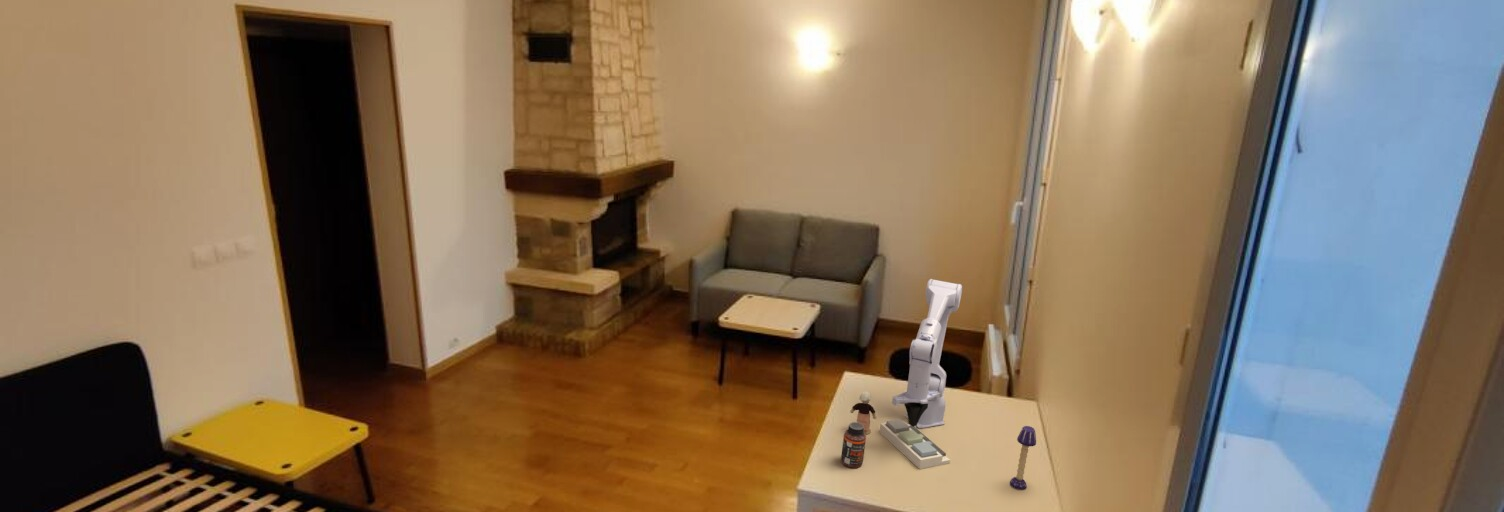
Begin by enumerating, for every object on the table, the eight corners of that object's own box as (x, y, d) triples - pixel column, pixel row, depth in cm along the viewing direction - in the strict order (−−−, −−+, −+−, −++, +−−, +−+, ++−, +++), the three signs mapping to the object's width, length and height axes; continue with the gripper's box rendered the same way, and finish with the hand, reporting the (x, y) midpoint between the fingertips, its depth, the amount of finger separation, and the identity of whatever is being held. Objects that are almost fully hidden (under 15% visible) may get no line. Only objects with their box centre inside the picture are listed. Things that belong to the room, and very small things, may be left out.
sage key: (912, 434, 203) (913, 429, 203) (922, 442, 199) (923, 438, 199) (898, 436, 201) (899, 432, 201) (908, 445, 197) (908, 440, 197)
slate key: (925, 445, 197) (926, 441, 197) (936, 454, 193) (937, 450, 193) (911, 448, 196) (912, 443, 195) (921, 457, 191) (922, 453, 191)
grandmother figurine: (873, 429, 210) (878, 390, 206) (874, 435, 206) (879, 396, 202) (848, 426, 210) (852, 387, 207) (848, 432, 207) (852, 393, 203)
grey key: (899, 423, 209) (900, 418, 208) (909, 431, 205) (909, 426, 204) (886, 425, 207) (886, 421, 207) (895, 433, 203) (895, 429, 202)
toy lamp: (1005, 479, 189) (1016, 423, 184) (1022, 479, 189) (1033, 423, 184) (1013, 489, 184) (1024, 433, 179) (1030, 490, 184) (1042, 433, 180)
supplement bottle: (848, 470, 188) (853, 433, 184) (836, 459, 193) (840, 422, 189) (867, 466, 190) (871, 428, 187) (854, 454, 195) (858, 418, 192)
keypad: (907, 427, 212) (908, 418, 211) (949, 463, 194) (951, 454, 194) (879, 431, 208) (880, 423, 208) (919, 469, 191) (920, 460, 190)
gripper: (905, 390, 189) (898, 435, 192) (949, 383, 194) (942, 427, 198) (890, 378, 195) (884, 422, 199) (933, 373, 200) (927, 415, 204)
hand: (912, 424), depth 199 cm, fingers closed
